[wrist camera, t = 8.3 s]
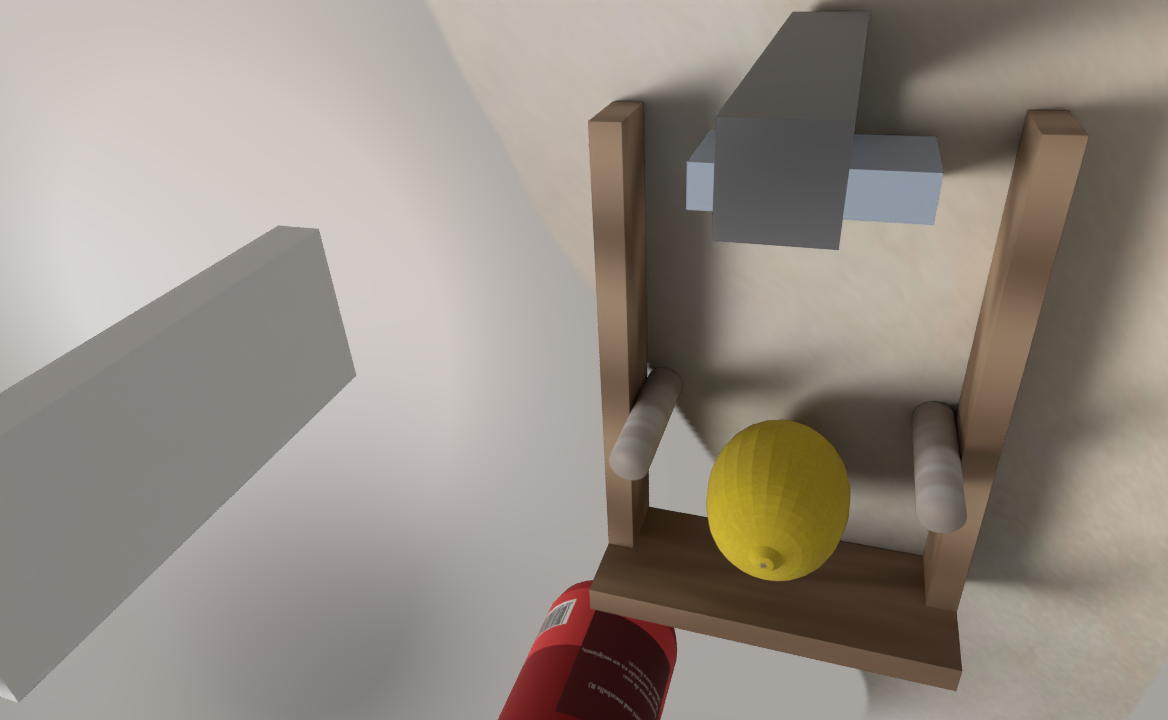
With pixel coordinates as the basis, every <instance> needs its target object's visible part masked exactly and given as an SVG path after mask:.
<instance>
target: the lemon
mask: <svg viewBox="0 0 1168 720" xmlns="http://www.w3.org/2000/svg"><path fill="white" fill-rule="evenodd" d="M849 507H850V485H849V481H848V477H847V473H846V469H845V466H844V463H843V461H842V459H841V458H840V456H839V454H838V453H837V451H836V449H835V448H834V446H833V445H832V444H831V443H830V442H829V441H828V440H827V439H826V438H824V437H823V436H822V435H821V434H820V433H818V432H817V431H815V430H813V429H812V428H810V427H808V426H806V425H803V424H800V423H797V422H794V421H787V420H767V421H764V422H760V423H757V424H753V425H751V426H749V427H747V428H746V429H744V430H742V431H741V432H739V433H738V434H736V435H735V436H734V437H733V438H732V439H731V440H730V441H729V442H728V443H727V444H726V446H725V447H724V448H723V449H722V451H721V452H720V454H719V456H718V458H717V460H716V462H715V464H714V466H713V468H712V471H711V474H710V478H709V484H708V492H707V515H708V520H709V526H710V530H711V533H712V536H713V538H714V540H715V542H716V544H717V546H718V548H719V549H720V551H721V552H722V553H723V554H724V556H725V557H726V558H727V559H728V560H729V561H730V562H731V563H732V564H734V565H735V566H736V567H737V568H739V569H740V570H741V571H743V572H745V573H747V574H749V575H751V576H754V577H757V578H760V579H764V580H771V581H787V580H793V579H796V578H800V577H803V576H806V575H807V574H809V573H811V572H813V571H814V570H816V569H818V568H819V567H820V566H821V565H822V564H823V563H824V562H825V561H826V560H827V559H828V558H829V557H830V556H831V555H832V554H833V552H834V550H835V549H836V547H837V545H838V543H839V541H840V539H841V536H842V534H843V532H844V530H845V527H846V524H847V521H848V516H849Z"/></svg>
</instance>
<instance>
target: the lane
mask: <svg viewBox="0 0 1168 720" xmlns="http://www.w3.org/2000/svg"><path fill="white" fill-rule="evenodd" d="M588 130H589V150H590V171H591V191H592V211H593V231H594V252H595V272H596V292H597V310H598V311H597V313H598V333H599V353H600V374H601V394H602V413H603V434H604V455H605V475H606V495H607V515H608V536H609V544H608V547H607V549H606V551H605V554H604V556H603V558H602V561H601V563H600V566H599V568H598V570H597V573H596V575H595V578H594V580H593V582H592V584H591V587H590V589H589V594H590V608H591V609H595V610H599V611H603V612H608V613H612V614H617V615H621V616H626V617H630V618H634V619H639V620H643V621H648V622H652V623H657V624H661V625H665V626H670V627H675V628H679V629H683V630H688V631H692V632H696V633H701V634H706V635H710V636H714V637H719V638H723V639H727V640H732V641H736V642H741V643H746V644H749V645H754V646H758V647H763V648H767V649H772V650H776V651H780V652H785V653H789V654H794V655H798V656H803V657H807V658H811V659H816V660H820V661H825V662H829V663H834V664H838V665H842V666H847V667H851V668H856V669H860V670H864V671H869V672H873V673H878V674H882V675H887V676H891V677H895V678H900V679H904V680H909V681H913V682H918V683H922V684H926V685H931V686H935V687H940V688H944V689H949V690H953V691H956V690H957V687H958V684H959V680H960V677H961V674H962V664H961V653H960V643H959V632H958V621H957V609H958V606H959V602H960V599H961V595H962V591H963V588H964V584H965V581H966V577H967V573H968V570H969V566H970V563H971V559H972V555H973V552H974V548H975V545H976V541H977V537H978V534H979V530H980V526H981V523H982V519H983V516H984V512H985V508H986V505H987V501H988V498H989V494H990V490H991V487H992V483H993V480H994V476H995V472H996V469H997V465H998V462H999V458H1000V454H1001V451H1002V447H1003V444H1004V440H1005V436H1006V433H1007V429H1008V426H1009V422H1010V418H1011V415H1012V411H1013V408H1014V404H1015V400H1016V397H1017V393H1018V390H1019V386H1020V382H1021V379H1022V375H1023V372H1024V368H1025V364H1026V361H1027V357H1028V354H1029V350H1030V346H1031V343H1032V339H1033V335H1034V332H1035V328H1036V325H1037V321H1038V317H1039V314H1040V310H1041V307H1042V303H1043V299H1044V296H1045V292H1046V289H1047V285H1048V281H1049V278H1050V274H1051V271H1052V267H1053V263H1054V260H1055V256H1056V253H1057V249H1058V245H1059V242H1060V238H1061V235H1062V231H1063V227H1064V224H1065V220H1066V217H1067V213H1068V209H1069V206H1070V202H1071V199H1072V195H1073V191H1074V188H1075V184H1076V181H1077V177H1078V173H1079V170H1080V166H1081V163H1082V159H1083V155H1084V152H1085V148H1086V145H1087V141H1088V137H1089V135H1088V134H1087V133H1086V132H1085V130H1084V129H1083V128H1082V126H1081V125H1080V124H1079V123H1078V121H1077V120H1076V119H1075V117H1074V116H1073V115H1072V114H1071V112H1070V111H1050V110H1027V113H1026V118H1025V122H1024V126H1023V131H1022V135H1021V139H1020V143H1019V148H1018V152H1017V156H1016V161H1015V165H1014V169H1013V173H1012V178H1011V182H1010V186H1009V191H1008V195H1007V199H1006V203H1005V208H1004V212H1003V216H1002V221H1001V225H1000V229H999V233H998V238H997V242H996V246H995V251H994V255H993V259H992V263H991V268H990V272H989V276H988V281H987V285H986V289H985V293H984V298H983V302H982V306H981V311H980V315H979V319H978V323H977V328H976V332H975V336H974V341H973V345H972V349H971V353H970V358H969V362H968V366H967V371H966V375H965V379H964V383H963V388H962V392H961V396H960V401H959V405H958V409H957V413H956V418H955V415H954V412H953V410H952V409H951V408H950V407H949V406H947V405H945V404H943V403H940V402H927V403H924V404H921V405H920V406H918V407H917V408H916V409H915V410H914V412H913V415H912V428H913V451H914V474H915V497H916V516H917V520H918V521H919V523H920V524H921V525H922V526H923V527H924V528H926V529H928V530H929V533H928V538H927V542H926V546H925V551H924V555H923V556H919V555H913V554H908V553H902V552H896V551H891V550H885V549H880V548H874V547H869V546H863V545H858V544H852V543H847V542H841V541H839V543H838V545H837V547H836V549H835V550H834V552H833V554H832V555H831V556H830V557H829V558H828V559H827V560H826V561H825V562H824V563H823V564H822V565H821V566H820V567H819V568H818V569H816V570H814V571H813V572H811V573H809V574H807V575H806V576H803V577H800V578H796V579H793V580H787V581H771V580H764V579H760V578H757V577H754V576H751V575H749V574H747V573H745V572H743V571H741V570H740V569H739V568H737V567H736V566H735V565H734V564H732V563H731V562H730V561H729V560H728V559H727V558H726V557H725V556H724V554H723V553H722V552H721V551H720V549H719V548H718V546H717V544H716V542H715V540H714V538H713V536H712V533H711V530H710V526H709V520H708V517H703V516H697V515H692V514H686V513H681V512H675V511H669V510H664V509H658V508H653V507H649V471H648V470H649V468H650V465H651V463H652V460H653V458H654V455H655V453H656V450H657V448H658V445H659V443H660V440H661V438H662V436H663V433H664V431H665V428H666V426H667V423H668V421H669V419H670V416H671V414H672V411H673V409H674V406H675V404H676V401H677V399H678V396H679V394H680V392H681V389H682V381H681V379H680V377H679V376H678V374H677V373H675V372H674V371H672V370H670V369H667V368H657V369H655V370H653V371H652V372H651V373H650V374H649V376H648V378H647V313H646V236H645V159H644V102H612V103H610V104H609V105H608V106H607V107H605V108H604V109H603V110H602V111H600V112H599V113H598V114H597V115H595V116H594V117H593V118H592V119H590V120H589V121H588Z"/></svg>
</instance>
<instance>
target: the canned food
mask: <svg viewBox="0 0 1168 720" xmlns="http://www.w3.org/2000/svg"><path fill="white" fill-rule="evenodd" d="M592 582H593V580H591V581H585V582H581V583H577V584H575V585H573V586H571V587H570V588H568V589H567V590H566V591H565V592H564V593H563V594H562V595H561V596H560V597H559V598H558V599H557V600H556V601H555V602H554V603H553V605H552V607H551V608H550V610H549V612H548V614H547V616H546V619H545V621H544V623H543V625H542V627H541V629H540V632H539V633H538V636H537V638H536V640H535V642H534V644H533V646H532V648H531V651H530V653H529V655H528V657H527V659H526V661H525V664H524V665H523V668H522V670H521V672H520V674H519V676H518V678H517V680H516V682H515V684H514V687H513V689H512V691H511V693H510V695H509V697H508V699H507V701H506V704H505V706H504V708H503V710H502V712H501V714H500V716H499V719H498V720H660V719H661V715H662V712H663V708H664V704H665V700H666V696H667V693H668V689H669V685H670V682H671V677H672V674H673V670H674V666H675V663H676V657H677V643H676V635H675V630H674V627H670V626H665V625H661V624H657V623H652V622H648V621H643V620H639V619H634V618H630V617H626V616H621V615H617V614H612V613H608V612H603V611H599V610H595V609H591V608H590V594H589V589H590V587H591V584H592Z"/></svg>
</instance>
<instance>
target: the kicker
mask: <svg viewBox="0 0 1168 720" xmlns="http://www.w3.org/2000/svg"><path fill="white" fill-rule="evenodd" d="M869 16H870V11H820V12H792V13H791V15H790V16H789V18H788V19H787V20H786V22H785V23H784V24H783V26H782V27H781V28H780V30H779V31H778V33H777V34H776V35H775V37H774V38H773V39H772V41H771V42H770V44H769V45H768V46H767V48H766V49H765V50H764V52H763V53H762V54H761V56H760V57H759V59H758V60H757V61H756V63H755V64H754V65H753V67H752V68H751V69H750V71H749V72H748V74H747V75H746V76H745V78H744V79H743V80H742V82H741V83H740V85H739V86H738V87H737V89H736V90H735V91H734V93H733V94H732V95H731V97H730V98H729V100H728V101H727V102H726V104H725V105H724V106H723V108H722V109H721V111H720V112H719V113H718V115H717V116H716V124H715V130H709V132H708V133H707V135H706V136H705V137H704V139H703V140H702V142H701V143H700V144H699V146H698V147H697V149H696V150H695V151H694V153H693V154H692V156H691V157H690V158H689V160H688V161H687V188H686V210H700V211H713V214H712V241H723V242H736V243H750V244H764V245H777V246H791V247H804V248H818V249H832V250H839V243H840V235H841V228H842V221H843V219H845V220H861V221H877V222H893V223H909V224H925V225H934V221H935V216H936V210H937V205H938V200H939V194H940V189H941V184H942V178H943V168H942V163H941V157H940V152H939V147H938V141H937V137H930V136H897V135H864V134H854V132H855V125H856V118H857V110H858V103H859V96H860V88H861V80H862V72H863V64H864V56H865V48H866V40H867V32H868V24H869Z"/></svg>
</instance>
